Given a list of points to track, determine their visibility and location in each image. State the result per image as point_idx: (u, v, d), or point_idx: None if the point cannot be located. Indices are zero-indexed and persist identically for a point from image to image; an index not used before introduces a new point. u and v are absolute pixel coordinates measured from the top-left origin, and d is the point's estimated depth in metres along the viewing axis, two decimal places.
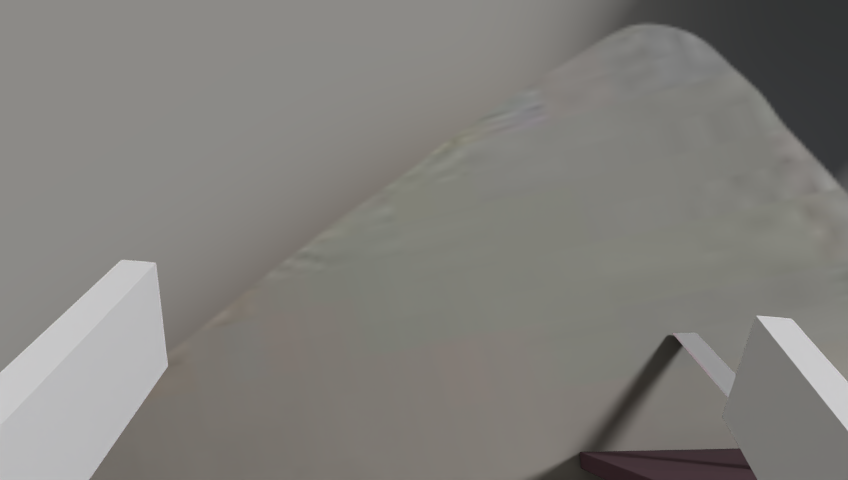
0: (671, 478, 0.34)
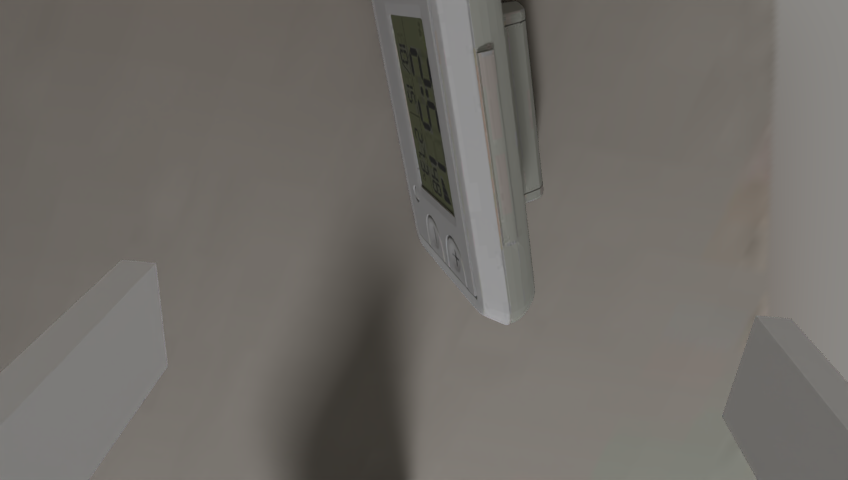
0: None
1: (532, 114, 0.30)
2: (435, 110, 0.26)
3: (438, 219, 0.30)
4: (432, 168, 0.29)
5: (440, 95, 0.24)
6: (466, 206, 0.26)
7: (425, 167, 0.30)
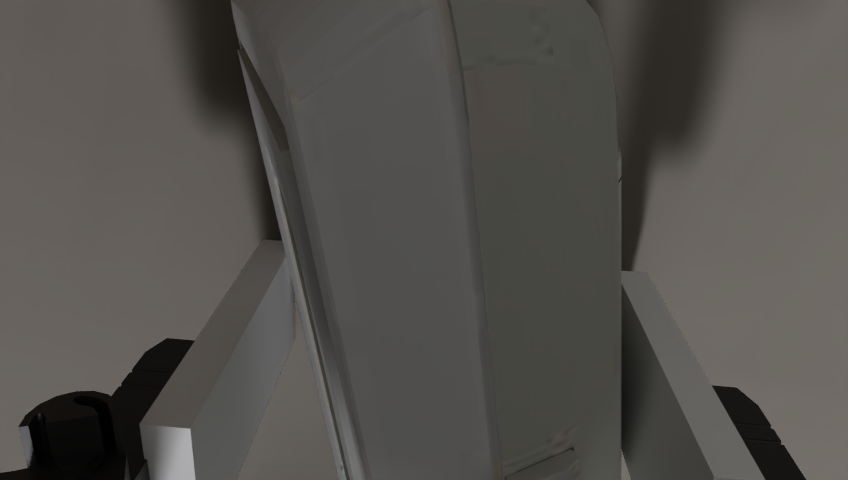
0: None
1: None
2: None
3: None
4: None
5: None
6: None
7: None
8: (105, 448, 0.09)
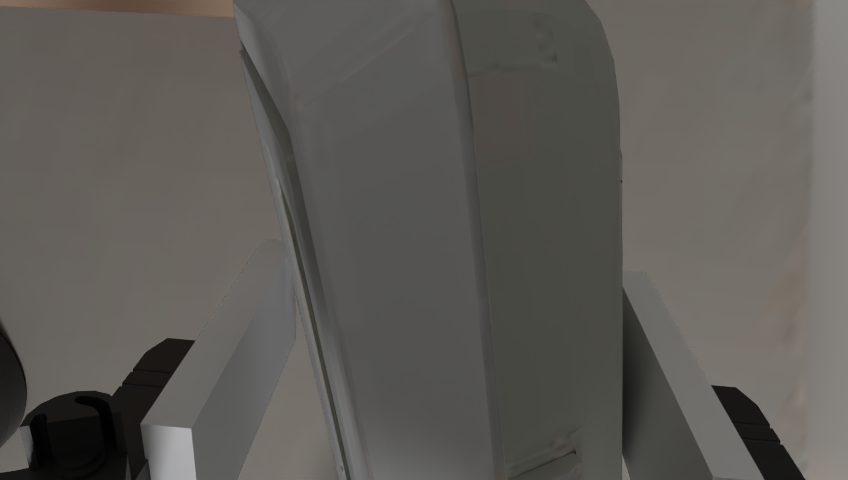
0: None
1: None
2: None
3: None
4: None
5: None
6: None
7: None
8: (106, 448, 0.09)
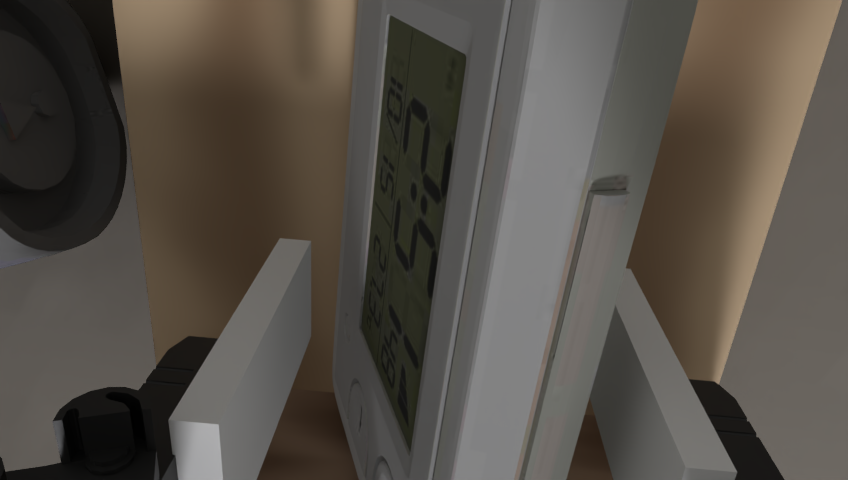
0: None
1: None
2: (433, 250, 0.12)
3: (374, 413, 0.16)
4: (389, 329, 0.15)
5: (460, 243, 0.10)
6: None
7: (376, 311, 0.16)
8: (136, 444, 0.09)
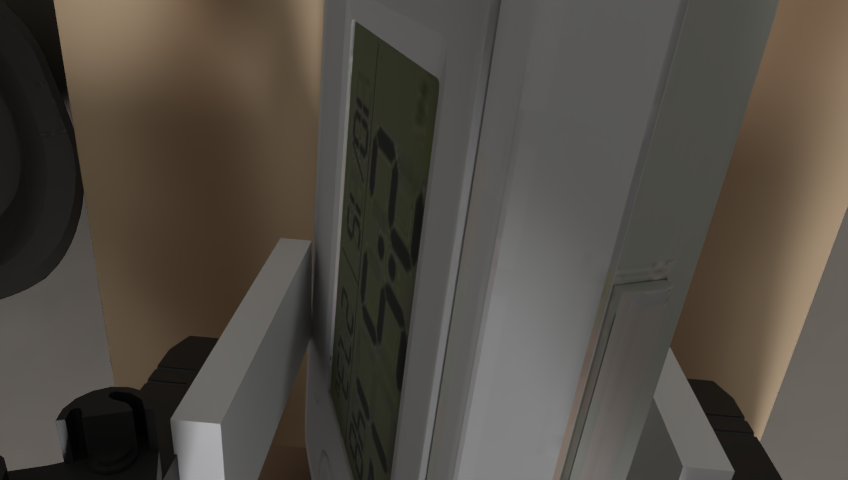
0: None
1: None
2: (403, 331, 0.09)
3: None
4: (357, 407, 0.12)
5: (432, 338, 0.07)
6: None
7: (344, 378, 0.13)
8: (138, 443, 0.09)
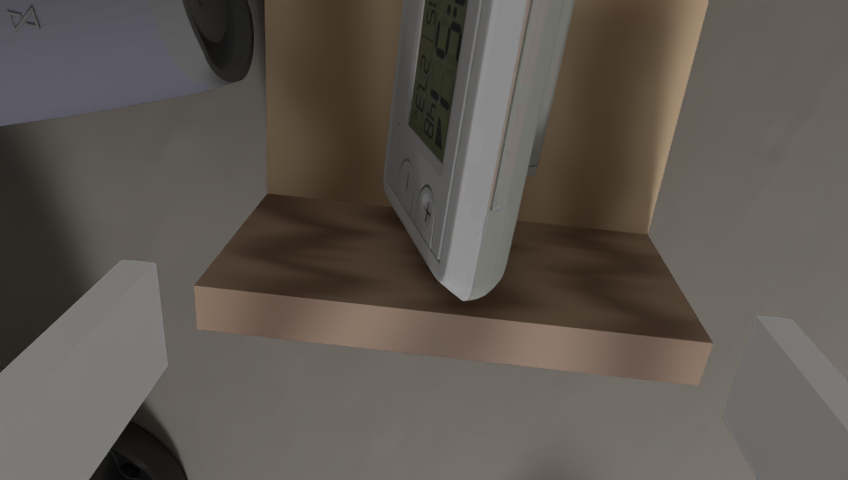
0: None
1: (554, 81, 0.26)
2: (460, 33, 0.22)
3: (418, 164, 0.26)
4: (430, 104, 0.25)
5: (475, 13, 0.20)
6: (463, 152, 0.22)
7: (421, 102, 0.26)
8: None
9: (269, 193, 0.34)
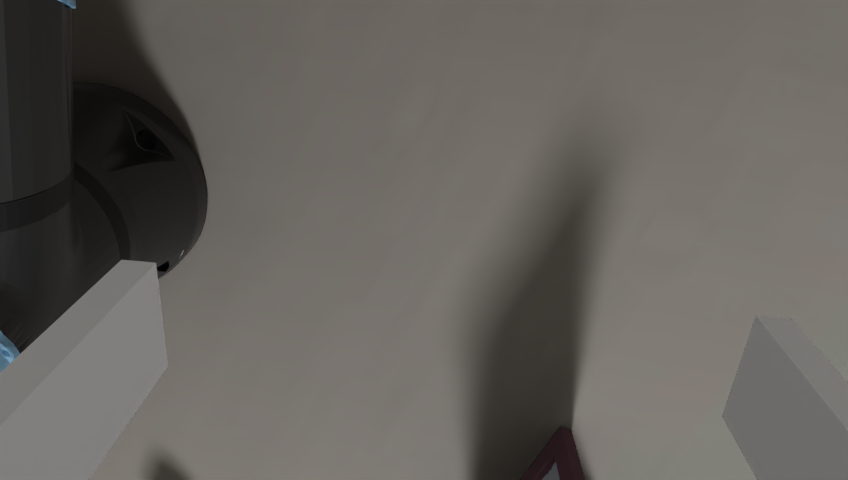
0: None
1: None
2: None
3: None
4: None
5: None
6: None
7: None
8: None
9: None
